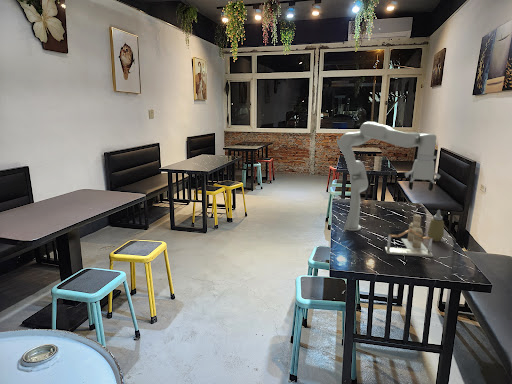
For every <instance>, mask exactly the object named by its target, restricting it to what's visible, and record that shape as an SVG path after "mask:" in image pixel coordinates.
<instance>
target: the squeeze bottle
mask: <svg viewBox="0 0 512 384" xmlns="http://www.w3.org/2000/svg"><path fill="white" fill-rule="evenodd" d="M432 217H433V218H432V219H430V222H429V225H428V230H427V237H431V238H432V242H441V241H442V239H443V237H444V232H445V231H444V230H445V229H444V227H445V221H444V220H443V218H444V217H443V216H442V215H441V210H440V209H438V210H437V211H436V214H435V215H433V216H432Z"/></svg>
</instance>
